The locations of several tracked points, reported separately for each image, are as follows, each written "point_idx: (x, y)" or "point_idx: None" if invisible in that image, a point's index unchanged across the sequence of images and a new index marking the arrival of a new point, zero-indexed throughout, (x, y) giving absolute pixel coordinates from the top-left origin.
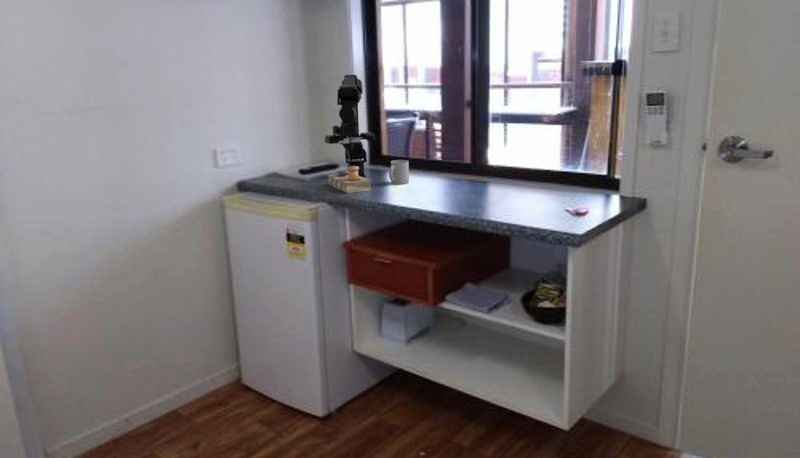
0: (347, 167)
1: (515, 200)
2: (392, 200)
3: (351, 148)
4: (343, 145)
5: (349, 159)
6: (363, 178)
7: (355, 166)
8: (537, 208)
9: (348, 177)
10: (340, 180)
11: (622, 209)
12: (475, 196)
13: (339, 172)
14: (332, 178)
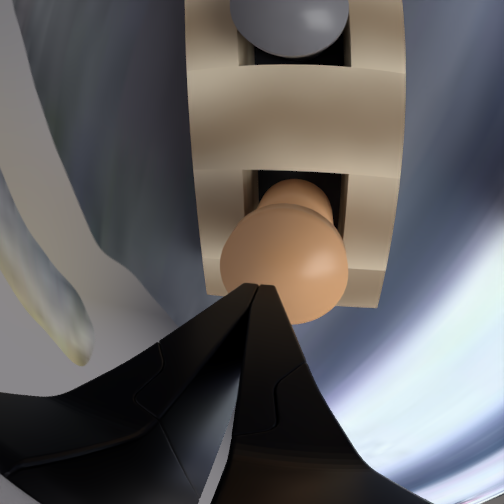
0: (223, 259)
1: (485, 473)
2: None
3: (200, 493)
4: (35, 414)
5: (240, 290)
6: (379, 226)
7: (322, 261)
8: (452, 497)
9: (298, 109)
10: (197, 187)
11: (488, 500)
12: (488, 449)
13: (236, 26)
14: (189, 30)
